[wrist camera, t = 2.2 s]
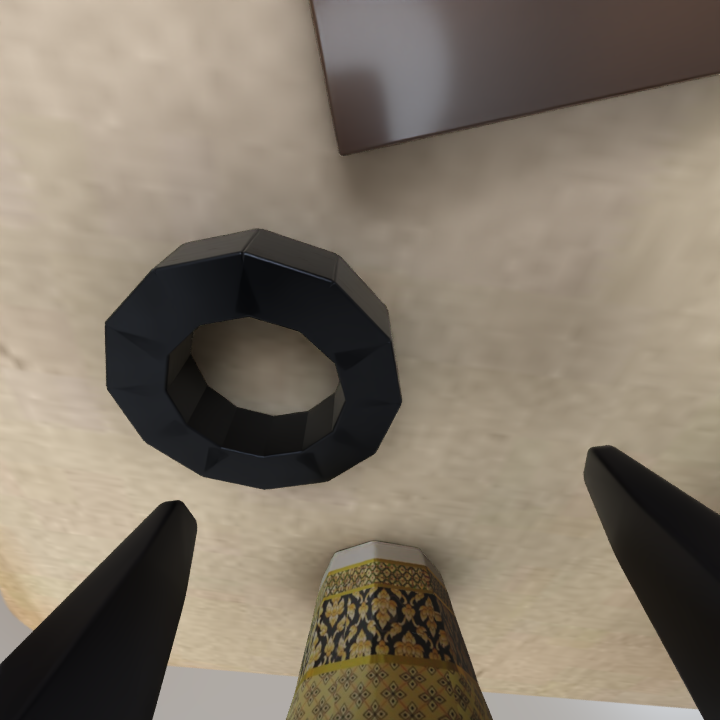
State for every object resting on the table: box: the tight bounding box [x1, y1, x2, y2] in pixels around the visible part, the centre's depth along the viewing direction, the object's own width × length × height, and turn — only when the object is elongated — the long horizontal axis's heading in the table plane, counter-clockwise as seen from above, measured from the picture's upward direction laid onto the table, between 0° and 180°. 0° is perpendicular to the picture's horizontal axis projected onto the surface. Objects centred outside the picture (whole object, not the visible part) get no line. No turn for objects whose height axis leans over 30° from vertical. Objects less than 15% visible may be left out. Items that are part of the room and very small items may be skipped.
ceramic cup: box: [286, 541, 493, 720], centre depth 19 cm, size 13×10×10 cm
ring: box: [105, 229, 402, 490], centre depth 13 cm, size 9×9×2 cm
